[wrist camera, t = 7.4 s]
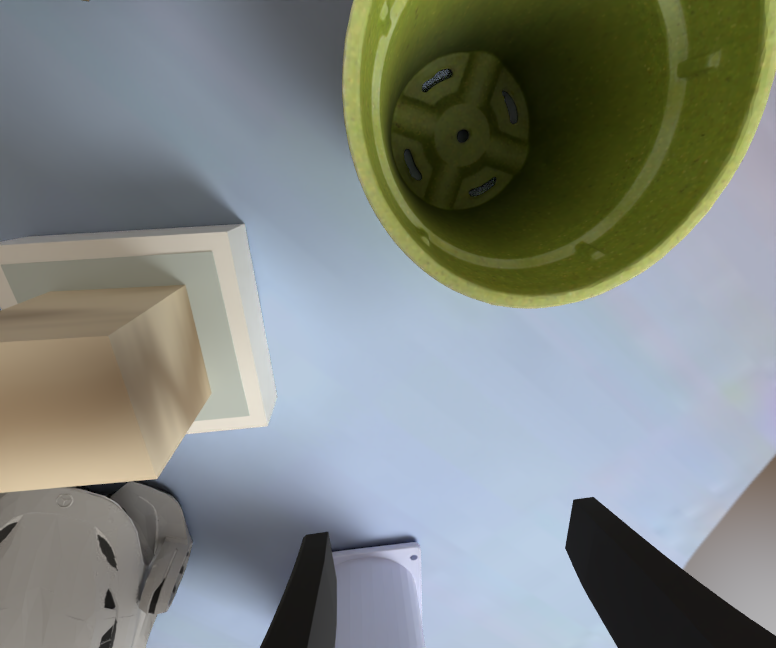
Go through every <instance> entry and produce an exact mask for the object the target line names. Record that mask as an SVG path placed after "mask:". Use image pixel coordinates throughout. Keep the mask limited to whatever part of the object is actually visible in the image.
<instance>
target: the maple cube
mask: <svg viewBox="0 0 776 648" xmlns="http://www.w3.org/2000/svg"><path fill="white" fill-rule="evenodd" d="M211 394H212V392H211V388H210V384H209V380H208V376H207V372H206V367H205V363H204V359H203V355H202V351H201V347H200V343H199V339H198V334H197V330H196V326H195V322H194V318H193V314H192V310H191V305H190V301H189V297H188V293H187V289H186V285H171V286H151V287H131V288H111V289H90V290H70V291H50V292H47V293H45V294H42V295H40V296H37V297H34V298H32V299H29V300H27V301H24V302H21V303H19V304H16V305H14V306H11V307H9V308H6V309H3V310H1V311H0V493H5V492H16V491H27V490H39V489H50V488H61V487H72V486H84V485H95V484H106V483H118V482H129V481H140V480H151V479H158V477H159V475H160V474H161V472H162V471H163V469H164V468H165V466H166V464H167V463H168V461H169V460H170V458H171V457H172V455H173V453H174V452H175V450H176V449H177V447H178V446H179V444H180V442H181V441H182V439H183V438H184V436H185V435H186V433H187V431H188V430H189V428H190V427H191V425H192V424H193V422H194V420H195V419H196V417H197V416H198V414H199V413H200V411H201V409H202V408H203V406H204V405H205V403H206V402H207V400H208V398H209V397H210V395H211Z"/></svg>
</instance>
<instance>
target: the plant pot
mask: <svg viewBox="0 0 776 648" xmlns="http://www.w3.org/2000/svg"><path fill="white" fill-rule="evenodd" d="M444 69H450V70H451V71H453V74H452V77H450V78H448V79H445V80H444V81H442V82H440V83H438V84H436V85H435V86H433V87H432V88H430V89H429V90H428V91H427V92H426V93H425V92H423V91H422V85H423V83H424V82H426V81H428V80H429V79H431V78H433V77H434V76H435V74H436V73H437V72H438V71H441V70H444ZM775 72H776V0H353V4H352V8H351V13H350V17H349V22H348V27H347V32H346V37H345V46H344V54H343V73H342V99H343V112H344V121H345V127H346V132H347V138H348V144H349V149H350V152H351V155H352V159H353V163H354V166H355V169H356V172H357V175H358V178H359V181H360V183H361V185H362V188H363V190H364V193H365V195H366V197H367V199H368V201H369V203H370V205H371V207H372V209H373V211H374V212H375V214H376V216H377V217H378V219H379V221H380V222H381V224H382V225H383V227H384V228H385V230H386V231H387V233H388V234H389V235H390V237H391V238H392V239H393V241H394V242H395V243H396V244H397V245H398V246H399V248H400V249H401V250H402V251H403V252H404V253H405V254H406V255H407V256H408V257H409V258H410V259H411V260H412V261H413V262H414V263H415V264H416V265H417V266H419V267H420V268H421V269H422V270H423V271H424V272H426V273H427V274H428V275H430V276H431V277H433V278H434V279H435V280H437V281H438V282H440V283H442V284H443V285H445V286H447V287H448V288H450V289H452V290H454V291H456V292H458V293H461V294H463V295H465V296H468V297H470V298H473V299H476V300H479V301H482V302H486V303H489V304H492V305H497V306H504V307H512V308H545V307H553V306H560V305H565V304H569V303H574V302H578V301H582V300H585V299H588V298H592V297H595V296H597V295H600V294H602V293H604V292H607V291H609V290H611V289H613V288H615V287H617V286H619V285H621V284H623V283H625V282H626V281H628V280H630V279H632V278H633V277H635V276H637V275H639V274H641V273H642V272H644V271H645V270H647V269H648V268H649V267H651V266H652V265H653V264H655V263H656V262H657V261H659V260H660V259H661V258H663V257H664V256H665V255H666V254H667V253H668V252H669V251H670V250H671V249H672V248H674V247H675V246H676V245H677V244H678V243H679V242H680V241H681V240H682V239H683V238H684V237H685V236H686V235H688V234H689V232H690V231H691V230H692V229H693V228H694V227H695V225H696V224H697V223H698V222H700V221H701V219H702V218H703V217H704V216H705V215H706V214H707V212H708V211H709V210H710V209H711V207H712V206H713V204H714V203H715V201H716V200H717V199H718V197H719V196H720V194H721V193H722V191H723V190H724V189H725V187H726V186H727V185H728V183H729V182H730V180H731V179H732V177H733V175H734V173H735V171H736V170H737V169H738V167H739V165H740V163H741V161H742V160H743V158H744V156H745V154H746V152H747V150H748V148H749V146H750V144H751V142H752V140H753V137H754V135H755V132H756V130H757V127H758V125H759V122H760V120H761V117H762V114H763V112H764V109H765V106H766V103H767V100H768V97H769V93H770V89H771V86H772V83H773V80H774V76H775ZM503 90H504V92H507V93H508V94H509V95H510V96H511V98H512V99H513V101H514V103H515V105H516V108H517V113H518V118H517V123H515V124H512V123H511V122H510V116H509V113H508V109H507V106H506V103H505V101H504V98H505V97H504V96H503V95H502V91H503ZM463 129H464V130H466V131H468V133H469V137H468V139H467V141H465V142H461V143H460V142H459V141H458V140H457V133H458V132H459V131H461V130H463ZM406 149H409V150H410V151H411V155H412V157H413V161H414V163H415V166H416V167H417V169H418V171H419V172H420V173H421V175H422V179H421V180H416V179H415V178H413V177H412V176H411V174H410V171H409V168H408V166H407V164H406V162H405V159H404V152H405V150H406ZM494 177H495V178H496V181H495V185H494V186H492V187H491V188H490V189H489V190H487V191H485V192H484V193H482V194H481V195H478V196H476V197H474V196H470V195H469V191H470V190H473V189H475V188H477V187H479V186H482V185H484V184H485V183H486V182H488V181H489V180H491V179H492V178H494Z"/></svg>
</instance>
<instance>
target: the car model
mask: <svg viewBox="0 0 776 648" xmlns="http://www.w3.org/2000/svg"><path fill="white" fill-rule="evenodd" d="M192 544H193V541H192V539H191V536H190V534H189V532H188V529H187V525H186V522H185V518H184V515H183V511H182V509H181V506H180V504H179V503H178V501H177V500H176V499H175V498H174V497H173V496H172V495H171V494H169V493H167V492H164V491H162V490H159V489H156V488H153V487H151V486H148V485H145V484H142V483H140V482H137V481H129V482H128V483H127V484H125V485H124V486H123V487H122V488H120V489H119V490H118V491H117V492H115V493H114V494H112V495H108V496H104V495H100V494H96V493H92V492H89V491H87V490H85V489H84V488H82V487H81V486H72V487H61V488H50V489H39V490H27V491H16V492H5V493H0V648H146V644H147V641H148V637H149V634H150V632H151V629H152V627H153V624H154V622H155V619H156V617H157V614H160V613H164V612H167V611H168V609H169V607H170V606H171V604H172V601H173V599H174V597H175V594H176V592H177V589H178V587H179V585H180V582H181V580H182V577H183V574H184V572H185V569H186V566H187V563H188V560H189V559H188V558H189V556H190V552H191V548H192Z"/></svg>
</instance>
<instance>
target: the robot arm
mask: <svg viewBox="0 0 776 648" xmlns="http://www.w3.org/2000/svg"><path fill="white" fill-rule="evenodd" d="M565 549H566V551H567V553H568V555H569V558H570V560H571V562H572V565H573V567H574V569H575V571H576V573H577V575H578V578H579V580H580V582H581V584H582V586H583V588H584V590H585V592H586V593H587V595H588V597H589V599H590V601H591V602H592V604H593V606H594V607H595V609H596V611H597V613H598V614H599V616H600V618H601V620H602V621H603V623H604V625H605V626H606V628H607V630H608V632H609V633H610V635H611V637H612V638H613V640H614V642H615V644H616V645H617V647H618V648H776V636H775V635H773V634H772V633H770V632H769V631H768V630H766V629H765V628H763V627H762V626H760V625H759V624H757V623H756V622H754V621H753V620H751V619H749V618H748V617H747V616H745V615H744V614H743V613H741V612H740V611H738V610H737V609H735V608H734V607H733V606H731V605H730V604H728V603H727V602H726V601H724V600H723V599H721V598H720V597H719V596H717V595H716V594H715V593H713V592H712V591H710V590H709V589H708V588H707V587H705V586H704V585H702V584H701V583H700V582H698V581H697V580H696V579H694V578H693V577H692V576H690V575H689V574H688V573H686V572H685V571H684V570H683V569H681V568H680V567H679V566H678V565H676V564H675V563H674V562H672V561H671V560H670V559H669V558H667V557H666V556H665V555H664V554H662V553H661V552H660V551H658V550H657V549H656V548H655V547H654V546H652V545H651V544H650V543H649V542H647V541H646V540H645V539H644V538H642V537H641V536H640V535H639V534H638V533H636V532H635V531H634V530H633V529H631V528H630V527H629V526H628V525H627V524H625V523H624V522H623V521H622V520H621V519H619V518H618V517H617V516H616V515H615V514H613V513H612V512H611V511H610V510H609V509H607V508H606V507H605V506H604V505H602V504H601V503H600V502H599V501H598V500H596V499H595V498H594V497H590V498H582V499H575V500H573V505H572V511H571V517H570V523H569V529H568V535H567V541H566V547H565ZM260 648H426V645H425V639H424V633H423V627H422V581H421V549H420V545H419V544H418V543H416V542H409V543H401V544H393V545H385V546H377V547H368V548H360V549H352V550H344V551H336V552H332V550H331V544H330V539H329V533H328V532H324V533H316V534H309V535H306V536H305V537H304V538H303V541H302V544H301V547H300V551H299V553H298V556H297V559H296V562H295V565H294V568H293V571H292V573H291V576H290V579H289V581H288V584H287V586H286V589H285V592H284V594H283V596H282V599H281V601H280V603H279V606H278V608H277V611H276V613H275V615H274V618H273V620H272V622H271V625H270V627H269V629H268V631H267V634H266V636H265V638H264V640H263V642H262V644H261V646H260Z"/></svg>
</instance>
